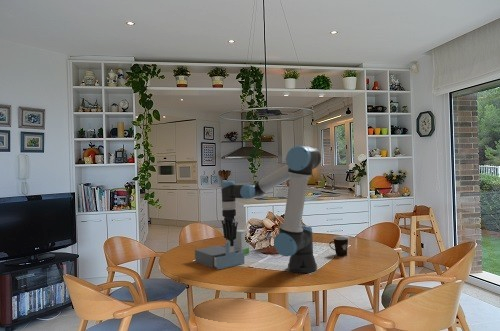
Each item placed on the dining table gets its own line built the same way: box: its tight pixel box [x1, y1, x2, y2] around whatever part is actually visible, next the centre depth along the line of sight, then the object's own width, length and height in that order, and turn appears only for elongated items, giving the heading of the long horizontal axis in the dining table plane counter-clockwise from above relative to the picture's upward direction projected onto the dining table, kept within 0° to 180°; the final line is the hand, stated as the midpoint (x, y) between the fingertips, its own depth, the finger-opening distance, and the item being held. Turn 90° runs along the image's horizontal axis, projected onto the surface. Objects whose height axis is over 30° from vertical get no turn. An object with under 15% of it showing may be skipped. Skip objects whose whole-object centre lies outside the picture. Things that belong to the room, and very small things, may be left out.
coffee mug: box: [328, 236, 349, 257], centre depth 212 cm, size 12×9×10 cm
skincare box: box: [234, 229, 250, 257], centre depth 221 cm, size 8×7×16 cm
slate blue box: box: [194, 244, 239, 269], centre depth 206 cm, size 20×18×7 cm
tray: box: [213, 241, 245, 270], centre depth 202 cm, size 20×18×14 cm
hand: (230, 251), depth 195 cm, fingers closed on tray
